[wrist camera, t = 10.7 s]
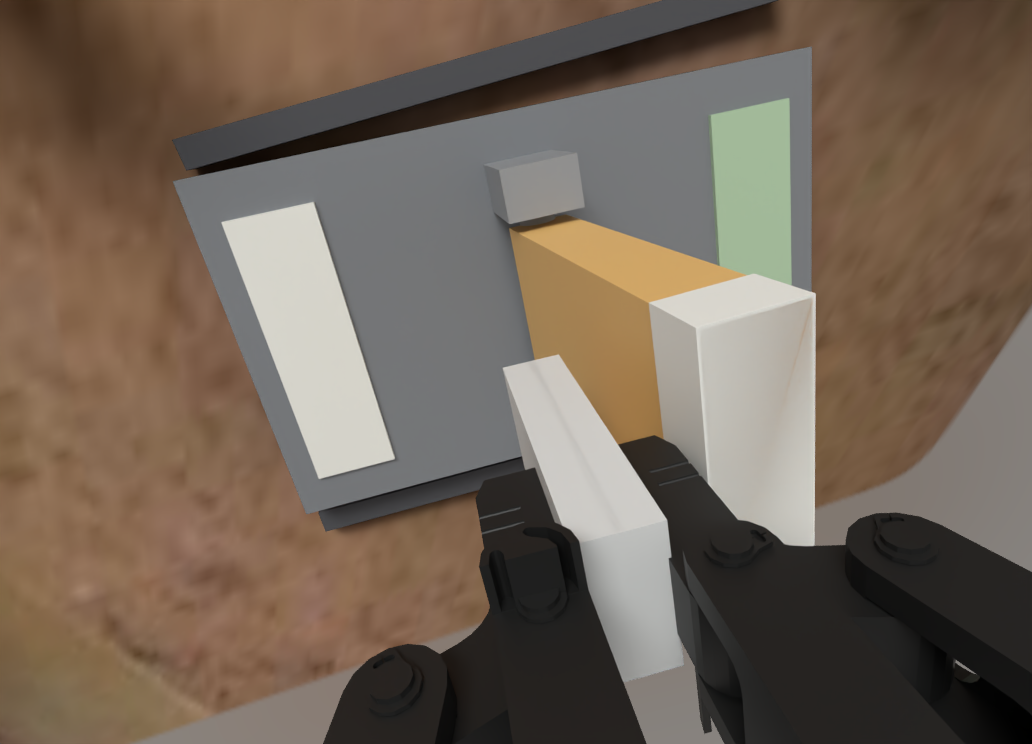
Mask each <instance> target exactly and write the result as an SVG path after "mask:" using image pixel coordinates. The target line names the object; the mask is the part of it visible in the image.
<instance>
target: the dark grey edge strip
mask: <svg viewBox="0 0 1032 744" xmlns="http://www.w3.org/2000/svg"><path fill="white" fill-rule="evenodd" d="M523 470H525V467H524V463H523V458H522V456H521V457H517V458H513V459H509V460H506V461H502V462H498V463H495V464H491V465H487V466H484V467H480V468H476V469H472V470H469V471H465V472H461V473H458V474H454V475H450V476H446V477H443V478H439V479H435V480H432V481H428V482H424V483H420V484H417V485H413V486H409V487H406V488H402V489H398V490H394V491H391V492H387V493H383V494H380V495H376V496H372V497H368V498H365V499H361V500H357V501H354V502H350V503H346V504H343V505H339V506H335V507H331V508H328V509H324V510H320V511H319V516H320V518H321V521H322V523H323V526H324V528H325V531H330V530H333V529H337V528H341V527H344V526H348V525H352V524H355V523H359V522H363V521H366V520H370V519H374V518H377V517H381V516H385V515H388V514H392V513H396V512H399V511H403V510H407V509H410V508H414V507H418V506H421V505H425V504H429V503H432V502H436V501H440V500H443V499H447V498H451V497H454V496H458V495H462V494H465V493H469V492H472V491H476V490H480V488H481V486H482V483H483V481H484V480H487V479H491V478H495V477H499V476H503V475H507V474H511V473H515V472H519V471H523Z"/></svg>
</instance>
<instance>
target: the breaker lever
mask: <svg viewBox="0 0 1032 744" xmlns="http://www.w3.org/2000/svg"><path fill="white" fill-rule="evenodd" d="M519 223H520V226H516V227H512V228H509V231H510V236H511V241H512V246H513V251H514V256H515V261H516V266H517V272H518V277H519V282H520V287H521V292H522V297H523V302H524V307H525V313H526V318H527V323H528V328H529V333H530V338H531V343H532V348H533V354H534V359H535V360H537V359H541V358H546V357H550V356H554V355H558V354H559V356H560V357H561V359H562V360H563V362H564V363H565V365H566V366H567V368H568V369H569V371H570V372H571V374H572V376H573V377H574V379H575V380H576V382H577V383H578V385H579V386H580V388H581V389H582V391H583V392H584V394H585V395H586V397H587V398H588V400H589V401H590V403H591V405H592V406H593V408H594V409H595V411H596V412H597V414H598V415H599V417H600V418H601V420H602V421H603V423H604V424H605V426H606V427H607V429H608V430H609V432H610V434H611V435H612V437H613V438H614V440H615V441H616V443H617V444H622V443H625V442H629V441H633V440H637V439H641V438H645V437H649V436H653V435H655V436H658V437H660V438H662V439H664V440H666V441H668V442H670V443H672V444H674V445H676V446H677V448H678V449H679V450H680V451H681V452H682V453H683V455H684V456H685V457H686V458H687V459H688V462H689V463H691V464H692V465H693V467H694V468H695V469H696V470H697V471H698V473H699V476H702V477H703V479H704V480H705V481H706V482H707V483H708V485H709V486H710V487H711V488H712V489H713V491H714V492H715V493H716V494H717V495H718V497H719V498H720V499H721V500H722V501H723V502H724V504H725V505H726V506H727V507H728V508H729V510H730V511H731V512H732V513H733V514H734V516H735V517H736V518H737V519H738V520H744V521H749V522H752V523H754V524H757V525H760V526H763V527H765V528H766V529H768V530H769V531H770V532H772V533H773V534H774V535H776V536H777V537H778V538H779V539H780V540H781V541H782V542H783V543H784V544H786V545H794V546H814V534H815V533H814V532H815V527H814V526H815V525H814V523H815V521H814V519H815V305H816V293H813V292H810V291H807V290H804V289H800V288H797V287H794V286H791V285H788V284H785V283H782V282H779V281H776V280H773V279H770V278H767V277H764V276H760V275H757V274H750V275H745V274H742V273H739V272H736V271H733V270H730V269H727V268H724V267H721V266H718V265H715V264H712V263H709V262H706V261H703V260H700V259H697V258H694V257H691V256H688V255H685V254H682V253H679V252H676V251H674V250H671V249H668V248H665V247H662V246H659V245H656V244H653V243H650V242H647V241H644V240H641V239H638V238H635V237H632V236H629V235H626V234H623V233H620V232H617V231H614V230H611V229H608V228H605V227H602V226H599V225H596V224H593V223H590V222H587V221H584V220H581V219H578V218H575V217H572V216H569V215H566V214H565V215H561V216H557V217H555V214H552V215H548V216H544V217H539V218H535V219H531V220H526V221H522V222H519Z"/></svg>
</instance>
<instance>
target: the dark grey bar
mask: <svg viewBox="0 0 1032 744" xmlns="http://www.w3.org/2000/svg"><path fill="white" fill-rule="evenodd" d="M775 1H778V0H662V1H659V2H655V3H652V4H648V5H645V6H641V7H638V8H634V9H631V10H627V11H624V12H620V13H617V14H613V15H610V16H606V17H603V18H599V19H596V20H592V21H589V22H585V23H581V24H578V25H574V26H571V27H567V28H564V29H560V30H557V31H553V32H550V33H546V34H543V35H539V36H536V37H532V38H529V39H525V40H522V41H518V42H515V43H511V44H508V45H504V46H501V47H497V48H494V49H490V50H487V51H483V52H479V53H476V54H472V55H469V56H465V57H462V58H458V59H455V60H451V61H448V62H444V63H441V64H437V65H434V66H430V67H427V68H423V69H420V70H416V71H413V72H409V73H406V74H402V75H399V76H395V77H392V78H388V79H385V80H381V81H377V82H374V83H370V84H367V85H363V86H360V87H356V88H353V89H349V90H346V91H342V92H339V93H335V94H332V95H328V96H325V97H321V98H318V99H314V100H311V101H307V102H304V103H300V104H297V105H293V106H290V107H286V108H283V109H279V110H275V111H272V112H268V113H265V114H261V115H258V116H254V117H251V118H247V119H244V120H240V121H237V122H233V123H230V124H226V125H223V126H219V127H216V128H212V129H209V130H205V131H202V132H198V133H195V134H191V135H188V136H184V137H181V138H177V139H173V140H172V141H173V143H174V145H175V147H176V149H177V151H178V154H179V156H180V158H181V160H182V162H183V164H184V166H185V169H186V171H187V170H192V169H196V168H200V167H203V166H207V165H210V164H214V163H217V162H221V161H224V160H228V159H231V158H235V157H238V156H241V155H245V154H248V153H252V152H255V151H259V150H262V149H266V148H269V147H273V146H276V145H280V144H283V143H287V142H290V141H293V140H297V139H300V138H304V137H307V136H311V135H314V134H318V133H321V132H325V131H328V130H332V129H335V128H339V127H342V126H345V125H349V124H352V123H356V122H359V121H363V120H366V119H370V118H373V117H377V116H380V115H384V114H387V113H391V112H394V111H397V110H401V109H404V108H408V107H411V106H415V105H418V104H422V103H425V102H429V101H432V100H436V99H439V98H443V97H446V96H449V95H453V94H456V93H460V92H463V91H467V90H470V89H474V88H477V87H481V86H484V85H488V84H491V83H495V82H498V81H501V80H505V79H508V78H512V77H515V76H519V75H522V74H526V73H529V72H533V71H536V70H540V69H543V68H547V67H550V66H553V65H557V64H560V63H564V62H567V61H571V60H574V59H578V58H581V57H585V56H588V55H592V54H595V53H599V52H602V51H605V50H609V49H612V48H616V47H619V46H623V45H626V44H630V43H633V42H637V41H640V40H644V39H647V38H650V37H654V36H657V35H661V34H664V33H668V32H671V31H675V30H678V29H682V28H685V27H689V26H692V25H696V24H699V23H702V22H706V21H709V20H713V19H716V18H720V17H723V16H727V15H730V14H734V13H737V12H741V11H744V10H748V9H751V8H754V7H758V6H761V5H765V4H768V3H772V2H775Z"/></svg>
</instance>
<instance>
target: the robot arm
mask: <svg viewBox="0 0 1032 744" xmlns="http://www.w3.org/2000/svg"><path fill="white" fill-rule="evenodd" d="M503 372H504V377H505V381H506V386H507V390H508V395H509V399H510V404H511V408H512V413H513V417H514V422H515V427H516V431H517V436H518V440H519V445H520V449H521V454H522V458H523V463H524V467H525V470H523V471H519V472H515V473H511V474H507V475H503V476H499V477H495V478H491V479H487V480H484V481H483V483H482V486H481V488H480V490H479V492H478V495H477V497H476V503H477V509H478V514H479V519H480V526H481V532H482V538H483V544H484V550H483V551H482V553H481V558H480V565H479V568H480V571H481V575H482V579H483V582H484V586H485V590H486V593H487V597H488V600H489V604H490V609H489V612H488V614H487V616H486V617H485V619H484V620H483V622H482V624H481V625H480V626H479V627H478V628H477V629H476V630H475V631H474V632H473V633H472V634H471V635H470V636H468V637H467V638H466V639H464V640H463V641H461V642H460V643H458V644H457V645H455V646H453V647H452V648H450V649H448V650H446V651H445V652H443V653H441V654H438V653H437V652H435V651H433V650H432V649H430V648H428V647H427V646H423V645H413V644H405V645H401V646H397V647H393V648H388V649H386V650H385V651H383V652H381V653H379V654H377V655H376V656H374V657H372V658H370V659H369V660H368V661H367V662H366V663H365V664H363V665H362V666H361V667H360V668H359V669H358V670H357V671H356V672H355V673H354V674H353V676H352V677H351V679H350V681H349V683H348V684H347V686H346V688H345V689H344V691H343V694H342V696H341V698H340V701H339V704H338V707H337V709H336V712H335V714H334V717H333V719H332V722H331V725H330V727H329V730H328V732H327V735H326V738H325V740H324V743H323V744H646V741H645V739H644V736H643V733H642V731H641V728H640V725H639V723H638V720H637V717H636V715H635V712H634V710H633V707H632V704H631V702H630V699H629V696H628V694H627V691H626V689H625V686H624V683H623V682H627V681H630V680H634V679H638V678H642V677H646V676H649V675H652V674H656V673H660V672H663V671H666V670H670V669H673V668H677V667H681V666H684V661H683V652H682V644H681V641H682V643H683V645H684V647H685V649H686V650H687V653H688V654H689V656H690V658H691V660H692V662H693V664H694V666H695V671H696V680H697V690H698V699H699V709H700V718H701V722H702V726H703V730H704V733H708V732H711V731H712V729H711V720H710V719H711V718H712V720H713V722H714V724H715V726H716V728H717V730H718V732H719V734H720V736H721V738H722V740H723V742H724V743H725V744H1032V572H1030V571H1028V570H1027V569H1025V568H1023V567H1021V566H1019V565H1017V564H1015V563H1013V562H1011V561H1009V560H1007V559H1006V558H1004V557H1002V556H1000V555H998V554H996V553H994V552H991V551H990V550H988V549H986V548H984V547H982V546H980V545H978V544H977V543H974V542H973V541H971V540H969V539H967V538H965V537H963V536H961V535H959V534H957V533H955V532H953V531H952V530H950V529H948V528H946V527H944V526H942V525H940V524H937V523H935V522H932V521H929V520H927V519H924V518H922V517H919V516H913V515H907V514H901V513H876V514H873V515H870V516H866V517H863V518H860V519H858V520H857V521H856V522H855V523H854V524H852V525H851V526H850V527H849V528H848V532H847V537H846V545H836V546H835V545H832V546H794V545H786V544H784V543H783V542H782V541H781V540H780V539H779V538H778V537H777V536H776V535H774V534H773V533H772V532H770V531H769V530H768V529H766V528H765V527H763V526H760V525H757V524H754V523H752V522H749V521H744V520H738V519H737V518H736V517H735V516H734V514H733V513H732V512H731V511H730V510H729V508H728V507H727V506H726V505H725V504H724V502H723V501H722V500H721V499H720V498H719V497H718V495H717V494H716V493H715V492H714V491H713V489H712V488H711V487H710V486H709V485H708V483H707V482H706V481H705V480H704V479H703V477H702V476H699V473H698V471H697V470H696V469H695V468H694V467H693V465H692V464H691V463H689V462H688V459H687V458H686V457H685V456H684V455H683V453H682V452H681V451H680V450H679V449H678V448H677V446H676V445H674V444H672V443H670V442H668V441H666V440H664V439H662V438H660V437H658V436H655V435H653V436H649V437H645V438H641V439H637V440H633V441H629V442H625V443H622V444H617V443H616V441H615V440H614V438H613V437H612V435H611V434H610V432H609V430H608V429H607V427H606V426H605V424H604V423H603V421H602V420H601V418H600V417H599V415H598V414H597V412H596V411H595V409H594V408H593V406H592V405H591V403H590V401H589V400H588V398H587V397H586V395H585V394H584V392H583V391H582V389H581V388H580V386H579V385H578V383H577V382H576V380H575V379H574V377H573V376H572V374H571V372H570V371H569V369H568V368H567V366H566V365H565V363H564V362H563V360H562V359H561V357H560V356H559V354H558V355H554V356H550V357H546V358H541V359H537V360H533V361H529V362H525V363H520V364H516V365H512V366H508V367H504V368H503ZM956 660H957V661H959V662H960V663H962V664H963V665H965V666H966V667H967V668H969V669H970V670H972V671H973V672H974V673H976V674H973V673H971V672H969V671H967V670H966V669H964V668H962V667H961V666H959V665H958V664H956V663H955V661H956ZM710 716H711V718H710Z"/></svg>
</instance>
